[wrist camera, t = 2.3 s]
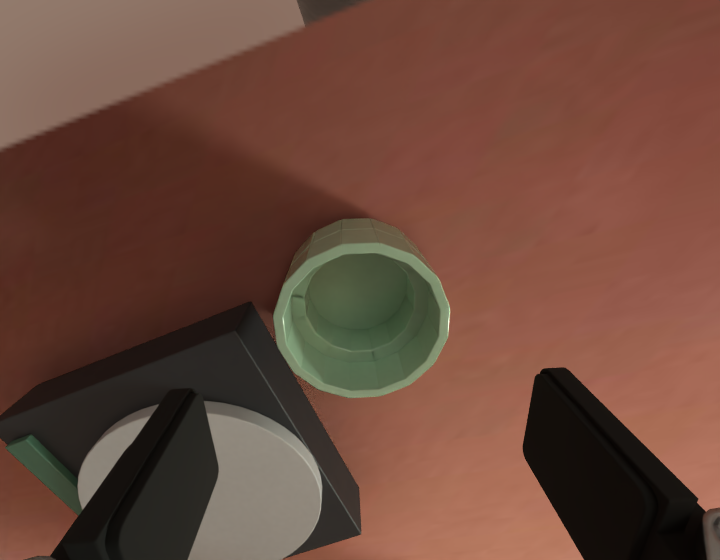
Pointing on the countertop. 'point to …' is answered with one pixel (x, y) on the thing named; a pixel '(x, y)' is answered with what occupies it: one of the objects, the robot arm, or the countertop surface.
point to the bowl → (360, 310)
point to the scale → (228, 429)
